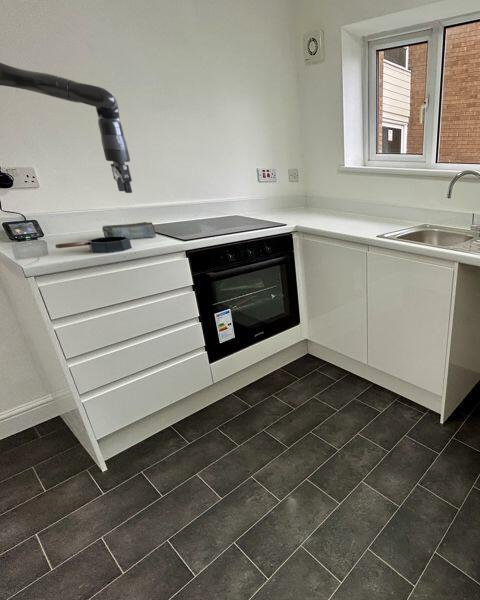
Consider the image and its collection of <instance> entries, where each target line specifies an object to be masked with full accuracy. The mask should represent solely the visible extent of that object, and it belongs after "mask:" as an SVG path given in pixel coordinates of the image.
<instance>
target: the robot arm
mask: <svg viewBox="0 0 480 600" xmlns="http://www.w3.org/2000/svg"><path fill="white" fill-rule="evenodd" d="M0 86H1V87H10V88H15V89H20V90H25V91H28V92H29V91H30V92H32V93H37V94H41V95H45V96H49V97H52V98H56V99H60V100H64V101H66V102H67V101H68V102H72V103H76V104H84V105H88V106H91V107H94V108H95V110H96V115H97V125H98V129H99V133H100V140H101V145H102V149H103V153H104V158H105V161H107V162H112V163H110V167H111V171H112V176H113V180H114V181H115V182H116V184H117V185H116V186H117V189H118V191H119V192H124V193H125V194H132V193H133V190H132V186H131V185H132V184H131V183H132V182H133V179H132V175H131V172H130V167H129V165H128V164H126V163H129V162H131V158H130V153H129V149H128V145H127V141H126V137H125V133H124V129H123V126H122V122H121V118H120V111H119V105H118V100H117V99H116V96H115V95H114V94H113V92H111V91H110V90H108V89H106V88H104V87H101V86H98V85H93V84H87V83H82V82H80V81H79V82H78V81H76V80H72V79H69V78H67V77H62V76H60V75H59V76H58V75H55V74H50V73H46V72H42V71H33V70H27V69H22V68H18V67H15V66H11V65H8V64H6V63H3V62H0Z"/></svg>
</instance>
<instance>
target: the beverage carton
mask: <svg viewBox="0 0 480 600" xmlns="http://www.w3.org/2000/svg"><path fill="white" fill-rule="evenodd" d="M102 232H103V237H111V236H121V237H127V238H129V239H130V240H131V239H132V240H134V239H145V238H156V228H155V226H154V224H153V222H152V221H151V222H150V221H149V222H147V221H143V222H135V223H124V224H109V225H108V224H107V225H102Z"/></svg>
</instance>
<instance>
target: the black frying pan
mask: <svg viewBox="0 0 480 600" xmlns="http://www.w3.org/2000/svg"><path fill="white" fill-rule="evenodd" d="M83 246H85V247H86V246H88V248H89V250H90V252H92V253H94V254H111V253H117V252H118V253H119V252H124V251H127V250H130V249H132V244H131V239H129V238H127V237H121V236H111V237H104V236H103V237H96V238H92V239H88V240H84V241H83V240H82V241H73V242H65V243H56V244H55V246H54V247H55V248H56V249H66V248H75V247H83Z"/></svg>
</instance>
